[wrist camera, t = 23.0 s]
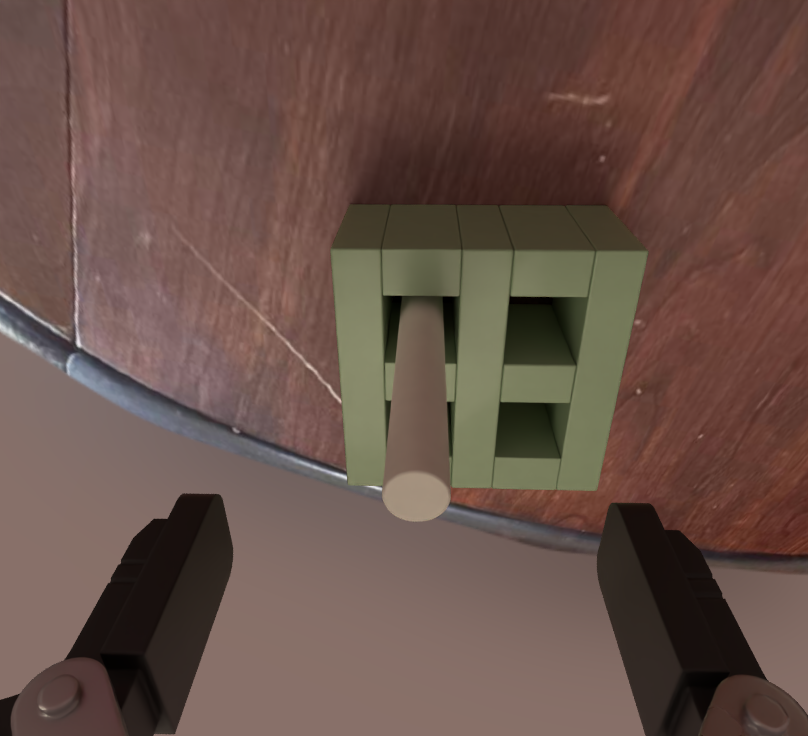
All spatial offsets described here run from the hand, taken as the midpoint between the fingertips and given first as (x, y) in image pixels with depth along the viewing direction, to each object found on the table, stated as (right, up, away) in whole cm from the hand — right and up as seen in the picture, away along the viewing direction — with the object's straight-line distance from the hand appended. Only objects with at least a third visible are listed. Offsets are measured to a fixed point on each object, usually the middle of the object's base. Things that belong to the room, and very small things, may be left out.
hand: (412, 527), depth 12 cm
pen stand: (+3, +5, +13) cm, 14 cm away
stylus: (+1, +7, +12) cm, 14 cm away
